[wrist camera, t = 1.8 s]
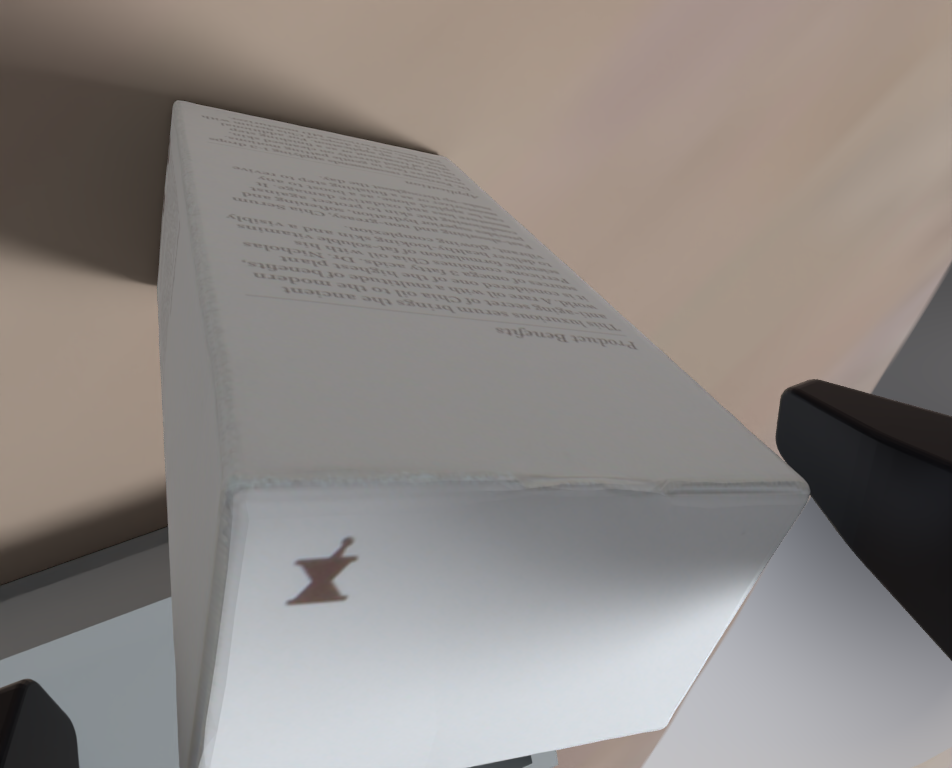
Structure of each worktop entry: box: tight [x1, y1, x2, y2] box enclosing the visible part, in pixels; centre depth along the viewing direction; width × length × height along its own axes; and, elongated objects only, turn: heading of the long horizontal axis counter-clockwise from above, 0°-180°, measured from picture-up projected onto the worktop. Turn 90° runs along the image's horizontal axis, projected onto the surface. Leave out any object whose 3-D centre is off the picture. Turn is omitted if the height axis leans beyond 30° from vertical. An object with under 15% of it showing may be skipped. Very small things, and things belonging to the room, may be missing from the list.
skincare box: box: [157, 100, 811, 768], centre depth 12 cm, size 6×4×12 cm
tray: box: [0, 527, 558, 768], centre depth 23 cm, size 16×16×2 cm
